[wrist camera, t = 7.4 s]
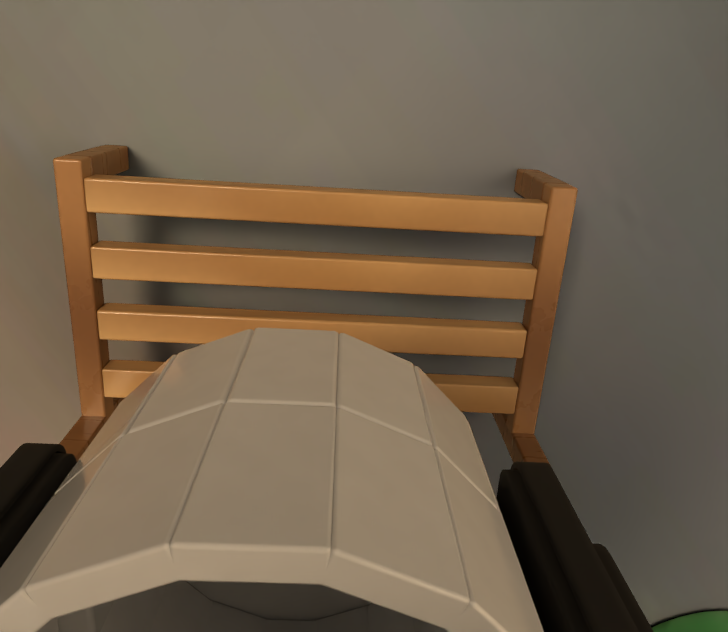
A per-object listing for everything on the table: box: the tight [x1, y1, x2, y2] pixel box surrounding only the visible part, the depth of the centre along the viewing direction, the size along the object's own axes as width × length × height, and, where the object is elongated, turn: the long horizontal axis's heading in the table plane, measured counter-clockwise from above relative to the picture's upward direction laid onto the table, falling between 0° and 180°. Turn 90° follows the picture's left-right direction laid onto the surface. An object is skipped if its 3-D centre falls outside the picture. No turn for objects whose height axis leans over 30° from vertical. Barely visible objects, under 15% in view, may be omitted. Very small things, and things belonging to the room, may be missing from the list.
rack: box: [53, 145, 578, 466], centre depth 20 cm, size 16×15×10 cm
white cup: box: [0, 328, 544, 632], centre depth 9 cm, size 7×7×6 cm
